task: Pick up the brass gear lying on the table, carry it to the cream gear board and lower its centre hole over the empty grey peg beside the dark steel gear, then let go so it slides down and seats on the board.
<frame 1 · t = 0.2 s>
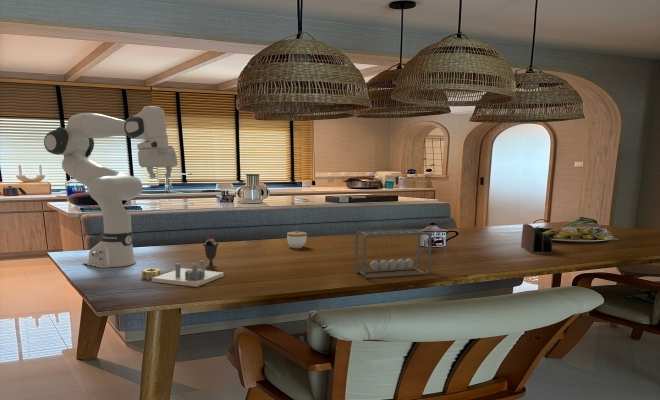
hand: (160, 177, 203), 39 cm above the table, tool pointing down, fingers open, 8 cm apart
sundae: (210, 267, 210), on the table
gear board: (188, 278, 189), on the table
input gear: (151, 277, 190), on the table
letter holder: (535, 251, 259), on the table
lidded jar: (296, 247, 262), on the table
newton's cradle: (392, 274, 202), on the table
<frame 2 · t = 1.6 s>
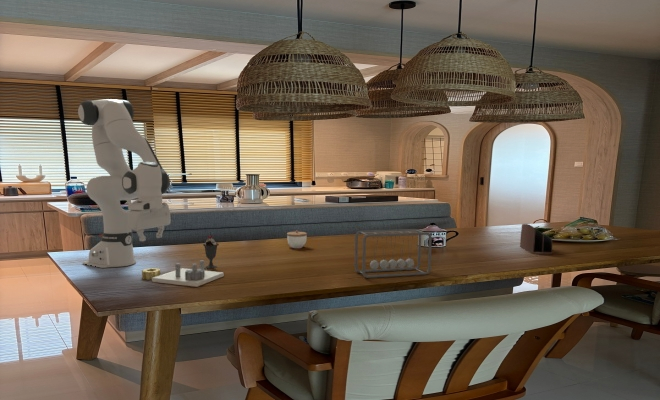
hand: (151, 239, 189), 15 cm above the table, tool pointing down, fingers open, 8 cm apart
nothing on the table moved.
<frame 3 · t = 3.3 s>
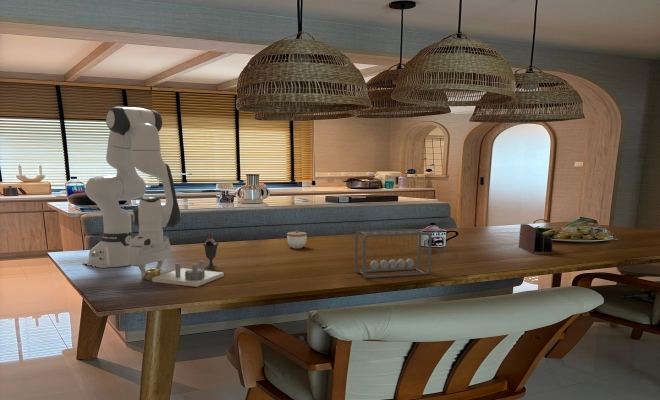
hand: (151, 273, 190), 2 cm above the table, tool pointing down, fingers closed on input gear, 7 cm apart
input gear: (151, 277, 190), on the table, touching gripper
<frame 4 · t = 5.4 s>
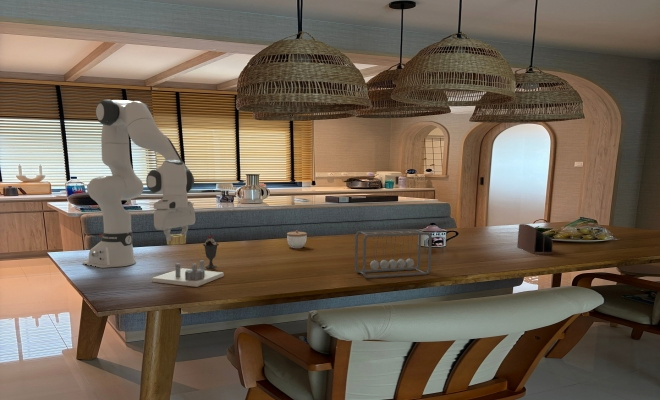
hand: (176, 239, 185), 16 cm above the table, tool pointing down, fingers closed on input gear, 7 cm apart
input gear: (176, 243, 185), point 14 cm above the table, touching gripper
when the fingers open (5 cm above the table, at t = 7.7 s): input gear stays where it is, resting on gear board.
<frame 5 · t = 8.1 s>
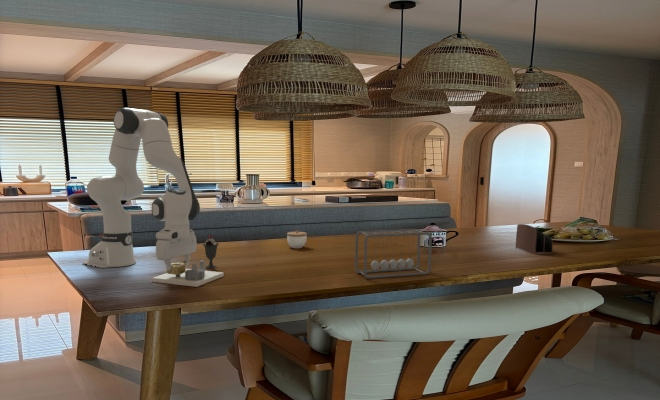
hand: (177, 267, 186), 5 cm above the table, tool pointing down, fingers open, 8 cm apart
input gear: (176, 272, 185), point 3 cm above the table, touching gear board, gripper
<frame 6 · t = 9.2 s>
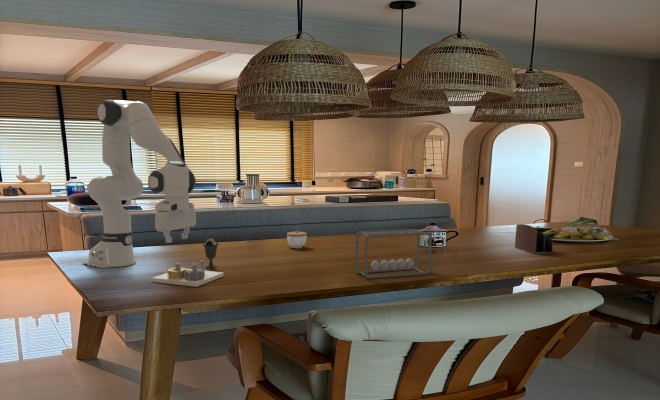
hand: (176, 240, 185), 15 cm above the table, tool pointing down, fingers open, 8 cm apart
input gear: (177, 277, 185), point 1 cm above the table, touching gear board
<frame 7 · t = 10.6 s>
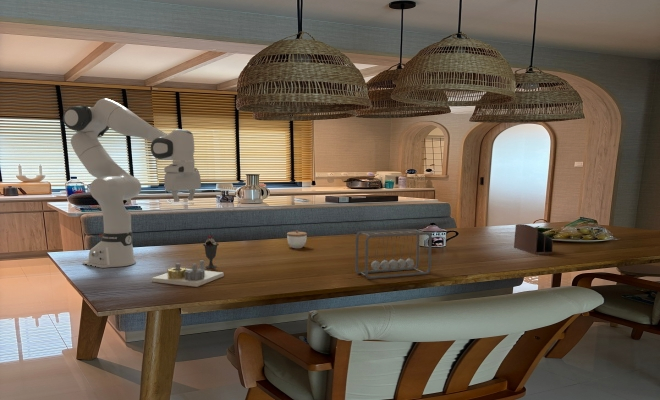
hand: (183, 200, 205), 29 cm above the table, tool pointing down, fingers open, 8 cm apart
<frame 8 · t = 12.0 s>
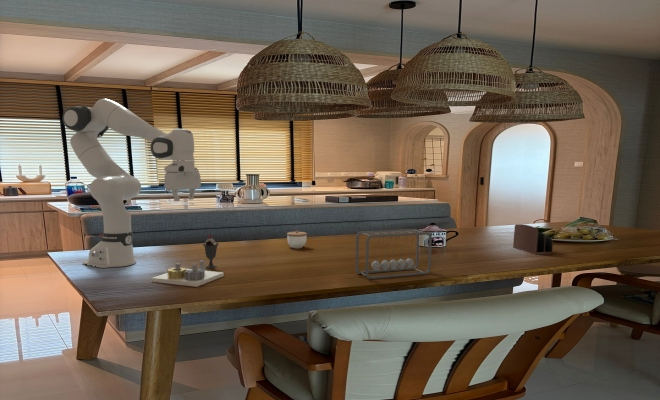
hand: (184, 200, 205), 29 cm above the table, tool pointing down, fingers open, 8 cm apart
at the end: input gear 0.7 cm from the target spot on the gear board, point 1.5 cm above the gear board's base; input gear tilted 0°; the gripper is holding nothing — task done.
